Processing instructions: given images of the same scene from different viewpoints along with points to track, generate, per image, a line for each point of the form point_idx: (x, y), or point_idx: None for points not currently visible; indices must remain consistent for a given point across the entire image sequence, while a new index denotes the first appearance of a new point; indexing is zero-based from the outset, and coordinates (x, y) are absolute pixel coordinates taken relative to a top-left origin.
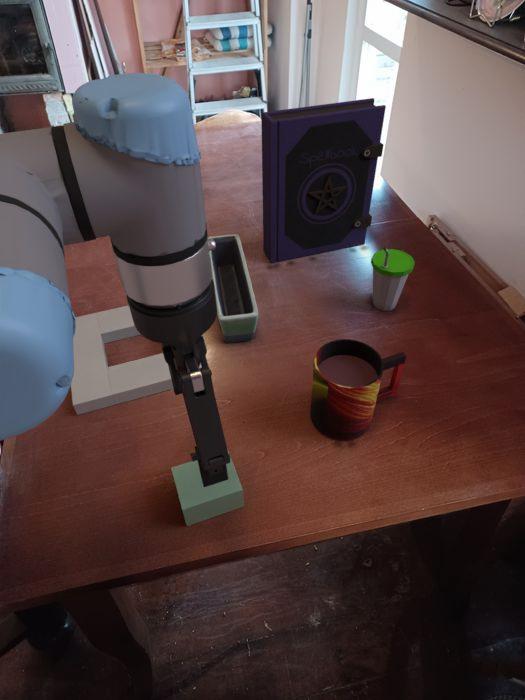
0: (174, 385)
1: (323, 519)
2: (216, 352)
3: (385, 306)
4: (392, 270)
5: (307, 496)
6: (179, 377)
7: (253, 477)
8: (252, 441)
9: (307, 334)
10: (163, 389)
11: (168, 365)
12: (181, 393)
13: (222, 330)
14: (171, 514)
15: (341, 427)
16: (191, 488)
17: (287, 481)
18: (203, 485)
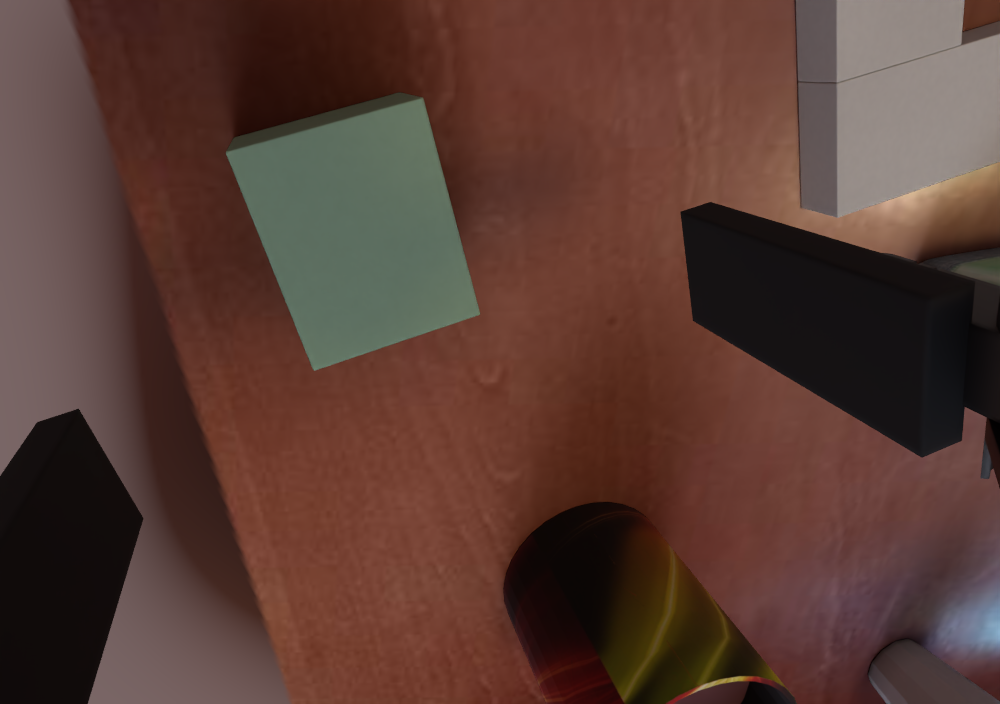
0: (729, 236)
1: (263, 539)
2: (895, 227)
3: (884, 677)
4: None
5: (337, 499)
6: (768, 288)
7: (410, 353)
8: (538, 348)
9: (866, 491)
10: (803, 34)
11: (869, 276)
12: (685, 244)
13: (975, 272)
14: (281, 78)
15: (526, 616)
16: (322, 186)
17: (389, 448)
18: (32, 431)
